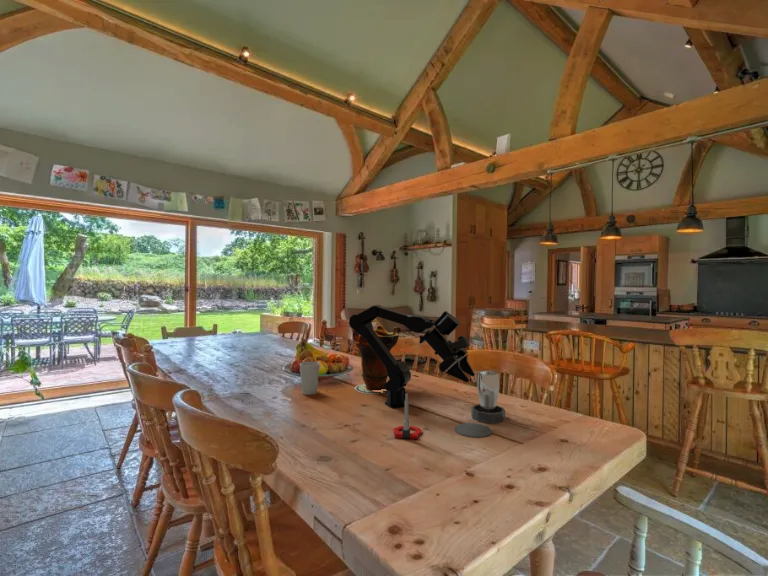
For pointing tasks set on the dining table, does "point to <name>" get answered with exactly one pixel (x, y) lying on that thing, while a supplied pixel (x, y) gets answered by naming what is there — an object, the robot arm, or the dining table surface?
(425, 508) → the dining table surface
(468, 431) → the coaster
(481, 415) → the ring holder
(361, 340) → the decorative vase
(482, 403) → the beer glass
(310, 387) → the cup
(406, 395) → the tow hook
